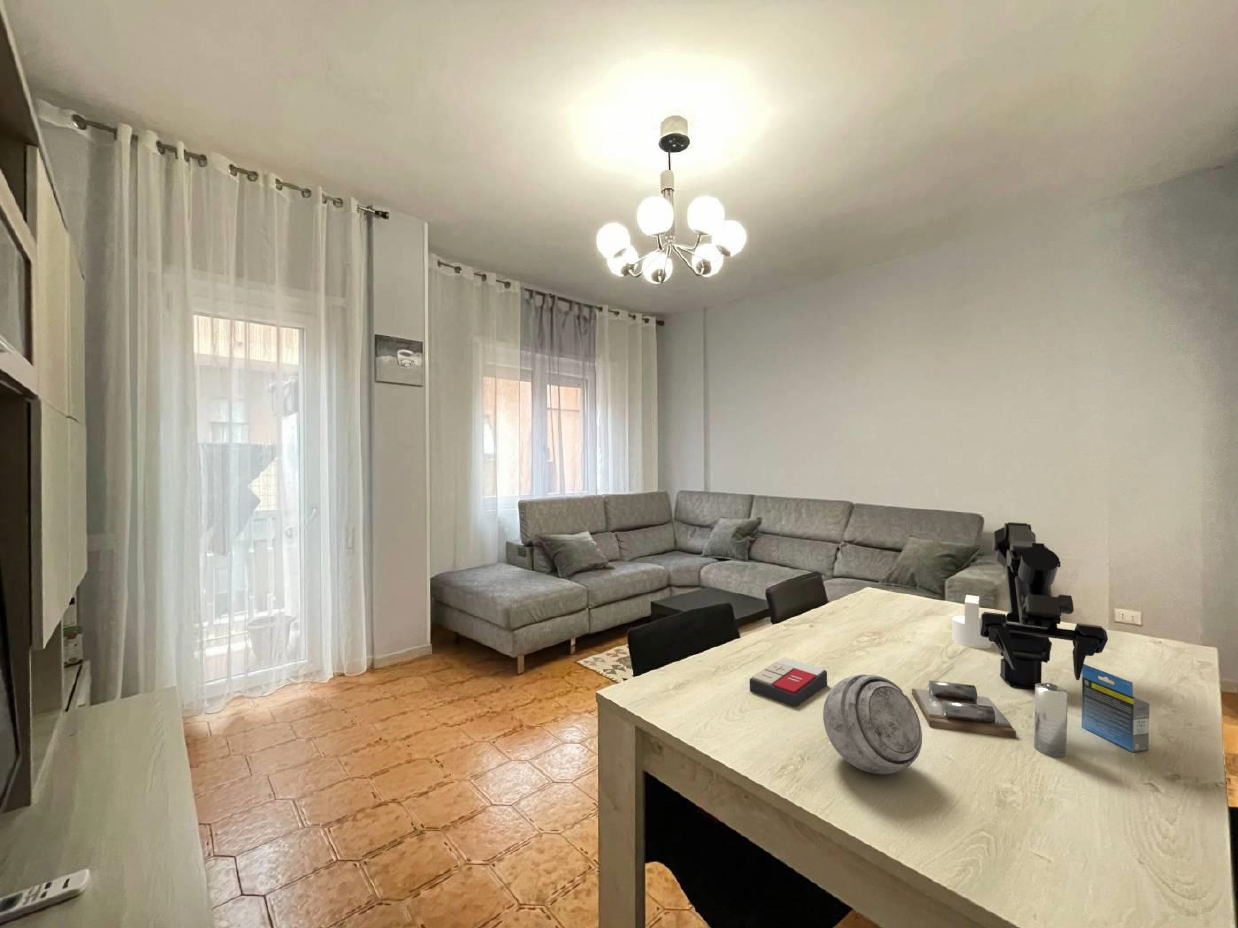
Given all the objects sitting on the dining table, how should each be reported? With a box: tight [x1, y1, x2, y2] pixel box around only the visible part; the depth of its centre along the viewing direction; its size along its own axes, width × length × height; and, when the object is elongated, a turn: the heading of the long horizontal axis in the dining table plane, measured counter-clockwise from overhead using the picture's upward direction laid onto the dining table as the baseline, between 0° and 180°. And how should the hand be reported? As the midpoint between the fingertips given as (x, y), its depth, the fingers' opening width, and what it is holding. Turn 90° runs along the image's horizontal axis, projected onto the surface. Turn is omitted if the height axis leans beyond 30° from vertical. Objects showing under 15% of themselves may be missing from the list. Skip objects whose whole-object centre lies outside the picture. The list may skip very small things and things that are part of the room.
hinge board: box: [911, 688, 1017, 739], centre depth 105 cm, size 14×14×1 cm
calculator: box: [749, 656, 828, 708], centre depth 117 cm, size 11×4×15 cm
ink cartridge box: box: [1081, 663, 1150, 753], centre depth 96 cm, size 9×4×12 cm, turn 9°
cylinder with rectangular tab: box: [951, 594, 993, 650], centre depth 144 cm, size 9×9×12 cm
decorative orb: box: [822, 674, 923, 775], centre depth 88 cm, size 15×14×15 cm
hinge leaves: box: [914, 680, 1012, 727], centre depth 105 cm, size 13×12×3 cm
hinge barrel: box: [1033, 682, 1069, 759], centre depth 92 cm, size 4×4×12 cm
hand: (1045, 673), depth 96 cm, fingers open, 9 cm apart
